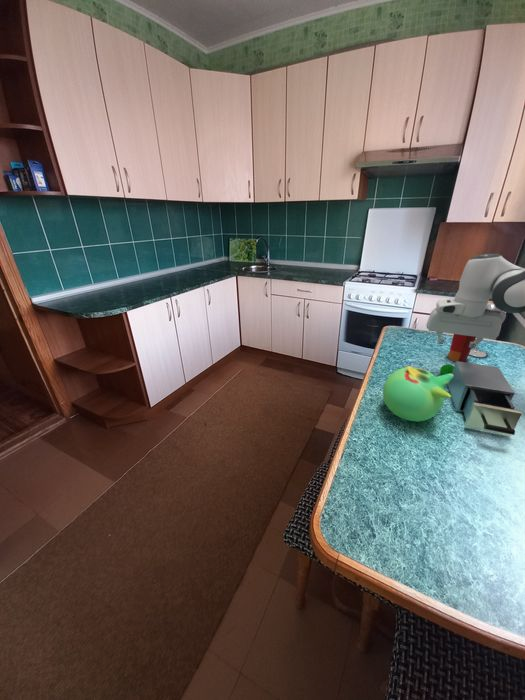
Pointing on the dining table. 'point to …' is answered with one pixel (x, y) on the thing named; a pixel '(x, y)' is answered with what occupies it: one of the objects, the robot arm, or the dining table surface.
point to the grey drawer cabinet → (476, 381)
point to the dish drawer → (490, 412)
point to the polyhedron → (446, 369)
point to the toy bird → (415, 393)
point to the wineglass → (475, 351)
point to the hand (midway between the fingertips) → (455, 345)
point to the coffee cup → (460, 347)
